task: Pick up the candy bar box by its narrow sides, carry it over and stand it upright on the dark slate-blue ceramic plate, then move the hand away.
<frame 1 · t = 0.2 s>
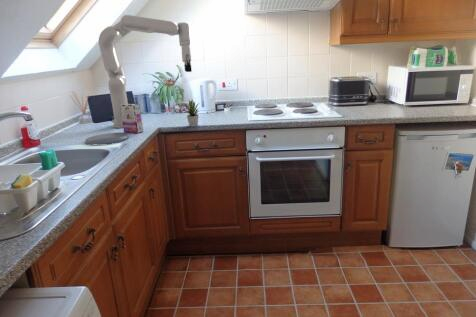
hand: (188, 71, 228), 31 cm above the worktop, tool pointing down, fingers open, 9 cm apart
plate: (107, 139, 192), on the worktop
house plant: (192, 125, 218), on the worktop
candy bar box: (133, 132, 208), on the worktop
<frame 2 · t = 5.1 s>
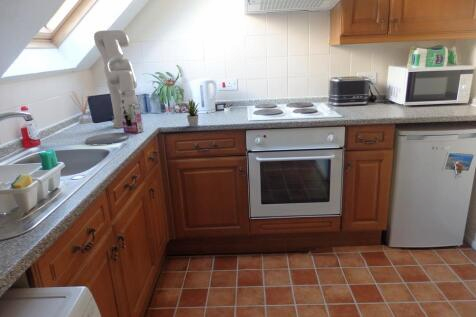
hand: (132, 124, 207), 4 cm above the worktop, tool pointing down, fingers closed on candy bar box, 5 cm apart
candy bar box: (133, 132, 208), on the worktop, touching gripper
everything else where it was.
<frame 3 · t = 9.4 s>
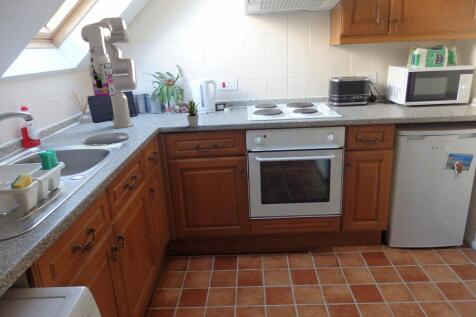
hand: (103, 87, 187), 28 cm above the worktop, tool pointing down, fingers closed on candy bar box, 5 cm apart
candy bar box: (105, 96, 188), point 23 cm above the worktop, touching gripper
everything else where it was.
when the fingers open (7 cm above the worktop, at t = 14.0 s): candy bar box drops 1 cm, resting on plate.
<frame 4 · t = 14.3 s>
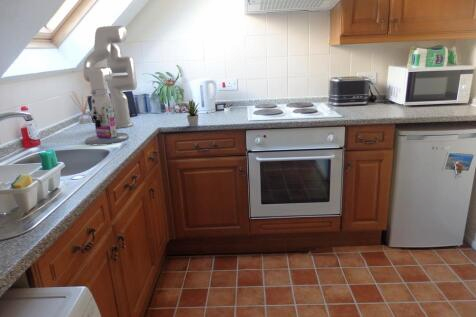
hand: (105, 125, 190), 8 cm above the worktop, tool pointing down, fingers open, 8 cm apart
candy bar box: (107, 137, 192), point 1 cm above the worktop, touching plate
everything else where it was.
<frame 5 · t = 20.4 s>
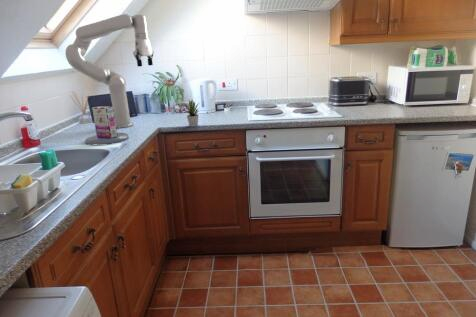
hand: (145, 65, 222), 36 cm above the worktop, tool pointing down, fingers open, 9 cm apart
nothing on the worktop moved.
at the end: candy bar box inside the target area on the plate (0.3 cm from its centre), point 1.3 cm above the plate's base; candy bar box tilted 0°; the gripper is holding nothing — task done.
